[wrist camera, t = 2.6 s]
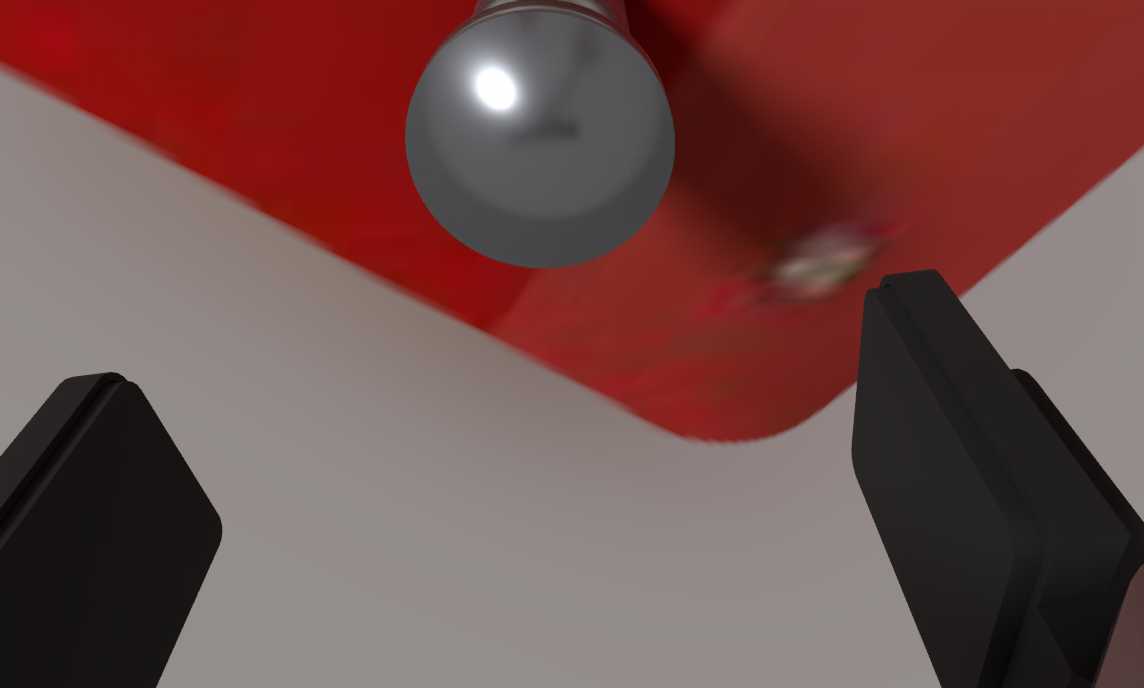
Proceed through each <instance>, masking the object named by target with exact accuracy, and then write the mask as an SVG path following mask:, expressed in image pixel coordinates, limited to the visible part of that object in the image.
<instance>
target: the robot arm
mask: <svg viewBox="0 0 1144 688" xmlns="http://www.w3.org/2000/svg"><path fill="white" fill-rule="evenodd" d="M853 426H854V427H853V436H852V461H853V467H854V471H855V475H856V478H857V480H858V483H859V485H860V488H861V490H862V492H863V495H864V497H865V500H866V502H867V505H868V507H869V510H870V512H871V514H872V517H873V520H874V522H875V524H876V527H877V529H878V532H879V534H880V537H881V539H882V542H883V544H884V546H885V549H886V552H887V554H888V557H889V559H890V561H891V564H892V566H893V569H894V571H895V574H896V576H897V579H898V581H899V584H900V586H901V589H902V591H903V593H904V596H905V598H906V601H907V603H908V606H909V608H910V611H911V613H912V616H913V618H914V621H915V623H916V625H917V628H918V631H919V633H920V635H921V638H922V640H923V643H924V645H925V648H926V650H927V653H928V655H929V657H930V660H931V662H932V665H933V667H934V670H935V672H936V675H937V677H938V680H939V682H940V685H941V687H942V688H1144V522H1143V521H1142V519H1141V518H1140V517H1139V515H1138V514H1137V513H1136V512H1135V510H1134V509H1133V508H1132V506H1131V505H1130V504H1129V503H1128V501H1127V500H1126V498H1125V497H1124V496H1123V494H1122V493H1121V492H1120V490H1119V489H1118V488H1117V487H1116V485H1115V484H1114V483H1113V482H1112V480H1111V479H1110V477H1109V476H1108V475H1107V474H1106V472H1105V471H1104V470H1103V468H1102V467H1101V466H1100V464H1099V463H1098V462H1097V460H1096V459H1095V458H1094V456H1093V455H1092V454H1091V452H1090V451H1089V450H1088V449H1087V447H1086V446H1085V445H1084V443H1083V442H1082V441H1081V439H1080V438H1079V437H1078V435H1077V434H1076V433H1075V431H1074V430H1073V429H1072V427H1071V426H1070V425H1069V424H1068V422H1067V421H1066V420H1065V418H1064V417H1063V416H1062V414H1061V413H1060V412H1059V410H1058V409H1057V408H1056V407H1055V405H1054V404H1053V402H1052V401H1051V400H1050V399H1049V397H1048V396H1047V395H1046V393H1045V392H1044V391H1043V389H1042V388H1041V387H1040V385H1039V384H1038V383H1037V382H1036V381H1035V379H1034V378H1033V377H1032V376H1031V375H1030V374H1029V373H1028V372H1026V371H1023V370H1021V369H1011V370H1010V369H1009V368H1008V366H1007V365H1006V363H1005V362H1004V361H1003V359H1002V358H1001V357H1000V355H999V354H998V353H997V351H996V350H995V348H994V347H993V346H992V344H991V343H990V342H989V340H988V339H987V338H986V336H985V335H984V334H983V332H982V331H981V329H980V328H979V327H978V325H977V324H976V323H975V321H974V320H973V319H972V317H971V316H970V314H969V313H968V312H967V310H966V309H965V308H964V306H963V305H962V303H961V302H960V301H959V299H958V298H957V296H956V295H955V294H954V292H953V291H952V290H951V288H950V287H949V286H948V284H947V283H946V281H945V280H944V279H943V277H942V276H941V275H940V274H939V273H938V272H937V271H936V270H933V269H929V270H921V271H913V272H905V273H898V274H890V275H885V276H884V277H883V278H882V280H881V282H880V287H879V288H874V289H869V290H867V292H866V295H865V300H864V311H863V323H862V334H861V346H860V357H859V368H858V380H857V392H856V403H855V414H854V425H853ZM221 538H222V523H221V519H220V517H219V515H218V513H217V512H216V510H215V508H214V507H213V505H212V504H211V502H210V500H209V499H208V497H207V495H206V494H205V492H204V490H203V489H202V487H201V486H200V484H199V483H198V481H197V479H196V478H195V476H194V474H193V473H192V471H191V469H190V468H189V466H188V465H187V463H186V461H185V460H184V458H183V457H182V455H181V453H180V452H179V450H178V448H177V447H176V445H175V444H174V442H173V440H172V439H171V437H170V436H169V434H168V432H167V431H166V429H165V427H164V426H163V424H162V423H161V421H160V419H159V418H158V416H157V415H156V413H155V411H154V410H153V408H152V406H151V405H150V403H149V402H148V400H147V398H146V397H145V395H144V393H143V392H142V390H141V389H140V388H139V387H138V385H137V384H135V383H133V382H130V381H127V380H126V379H125V378H124V377H123V376H122V375H120V374H118V373H114V372H108V373H100V374H92V375H84V376H76V377H71V378H68V379H65V380H64V381H63V382H62V383H61V384H59V386H58V387H57V388H56V389H55V391H54V392H53V393H52V394H51V395H50V397H49V398H48V399H47V400H46V401H45V403H44V404H43V405H42V406H41V408H40V409H39V410H38V411H37V413H36V414H35V415H34V416H33V417H32V419H31V420H30V421H29V422H28V423H27V425H26V426H25V427H24V428H23V430H22V431H21V432H20V433H19V434H18V436H17V437H16V438H15V439H14V441H13V442H12V443H11V444H10V445H9V447H8V448H7V449H6V450H5V451H4V453H3V454H2V455H1V456H0V688H156V686H157V684H158V682H159V680H160V677H161V675H162V673H163V671H164V668H165V666H166V664H167V662H168V659H169V657H170V655H171V653H172V650H173V648H174V646H175V644H176V641H177V639H178V637H179V634H180V632H181V630H182V628H183V626H184V624H185V621H186V619H187V617H188V615H189V612H190V610H191V608H192V605H193V603H194V601H195V599H196V597H197V594H198V592H199V590H200V587H201V585H202V583H203V581H204V579H205V577H206V574H207V572H208V570H209V568H210V565H211V563H212V561H213V559H214V556H215V554H216V552H217V549H218V547H219V545H220V542H221Z"/></svg>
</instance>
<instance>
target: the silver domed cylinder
mask: <svg viewBox="0 0 1144 688" xmlns="http://www.w3.org/2000/svg"><path fill="white" fill-rule="evenodd" d="M405 143H406V155H407V160H408V164H409V169H410V173H411V176H412V178H413V181H414V184H415V186H416V189H417V191H418V192H419V194H420V196H421V198H422V200H423V202H424V203H425V205H426V206H427V208H428V209H429V211H430V212H431V214H432V215H433V216H434V217H435V218H436V220H437V221H438V222H439V223H440V224H441V225H442V226H443V227H444V228H445V229H446V230H447V231H448V232H449V233H450V234H452V235H453V236H454V237H455V238H456V239H458V240H459V241H460V242H462V243H463V244H465V245H466V246H468V247H469V248H471V249H473V250H475V251H477V252H479V253H480V254H482V255H484V256H487V257H489V258H492V259H494V260H497V261H500V262H504V263H507V264H511V265H516V266H522V267H528V268H558V267H566V266H571V265H577V264H580V263H583V262H587V261H590V260H593V259H595V258H597V257H600V256H602V255H604V254H607V253H608V252H610V251H612V250H613V249H615V248H617V247H618V246H620V245H621V244H623V243H624V242H625V241H627V240H628V239H629V238H631V237H632V236H633V235H634V234H635V233H636V232H637V231H638V230H639V229H640V228H641V227H642V226H643V225H644V224H645V223H646V222H647V220H648V219H649V218H650V217H651V215H652V214H653V213H654V211H655V210H656V208H657V206H658V205H659V203H660V201H661V200H662V198H663V195H664V193H665V191H666V188H667V186H668V183H669V180H670V176H671V173H672V169H673V163H674V155H675V133H674V126H673V119H672V115H671V111H670V107H669V103H668V99H667V96H666V92H665V89H664V85H663V83H662V80H661V78H660V76H659V74H658V71H657V69H656V67H655V66H654V64H653V62H652V61H651V59H650V58H649V56H648V54H647V53H646V52H645V50H644V49H643V48H642V47H641V46H640V44H639V43H638V42H637V41H636V40H635V39H634V38H633V37H632V36H631V35H630V29H629V24H628V19H627V13H626V8H625V3H624V0H478V2H477V4H476V7H475V9H474V12H473V15H472V17H471V18H469V19H468V20H466V21H465V22H464V23H462V24H461V25H460V26H458V27H457V28H456V29H455V30H453V31H452V32H451V33H450V34H449V35H448V36H447V38H446V39H445V40H444V41H443V42H442V43H441V44H440V45H439V47H438V48H437V49H436V51H435V52H434V54H433V55H432V56H431V58H430V60H429V62H428V64H427V66H426V68H425V69H424V71H423V73H422V76H421V78H420V80H419V82H418V84H417V86H416V89H415V91H414V94H413V97H412V100H411V102H410V105H409V110H408V115H407V120H406V133H405Z"/></svg>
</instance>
